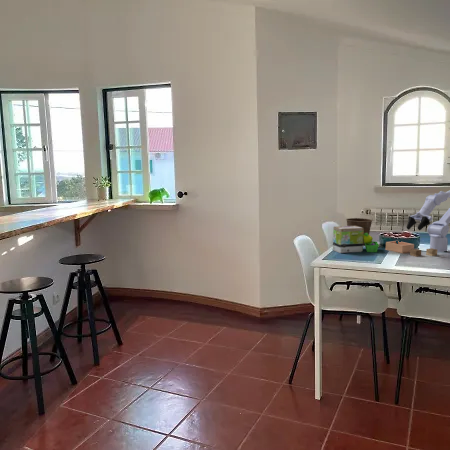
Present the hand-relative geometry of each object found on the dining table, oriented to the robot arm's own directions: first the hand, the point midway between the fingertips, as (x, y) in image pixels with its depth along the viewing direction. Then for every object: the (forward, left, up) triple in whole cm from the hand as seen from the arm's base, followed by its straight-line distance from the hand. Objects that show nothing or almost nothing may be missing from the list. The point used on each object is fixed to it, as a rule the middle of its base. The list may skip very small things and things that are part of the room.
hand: (413, 228), depth 260 cm
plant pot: (+3, -41, -16) cm, 44 cm away
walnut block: (0, +3, -16) cm, 16 cm away
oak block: (-9, +6, -16) cm, 19 cm away
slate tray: (-3, -10, -16) cm, 19 cm away
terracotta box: (-2, -11, -15) cm, 19 cm away
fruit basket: (+12, -20, -16) cm, 28 cm away
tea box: (+23, -27, -16) cm, 39 cm away
